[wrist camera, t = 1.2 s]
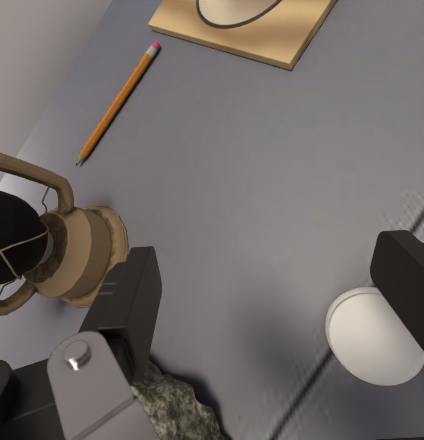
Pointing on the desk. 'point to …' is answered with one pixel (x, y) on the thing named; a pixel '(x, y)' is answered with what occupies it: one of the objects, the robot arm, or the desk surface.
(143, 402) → the rock
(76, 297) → the lantern
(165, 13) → the tan flat wooden board
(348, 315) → the pill bottle
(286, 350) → the desk surface
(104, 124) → the pencil
